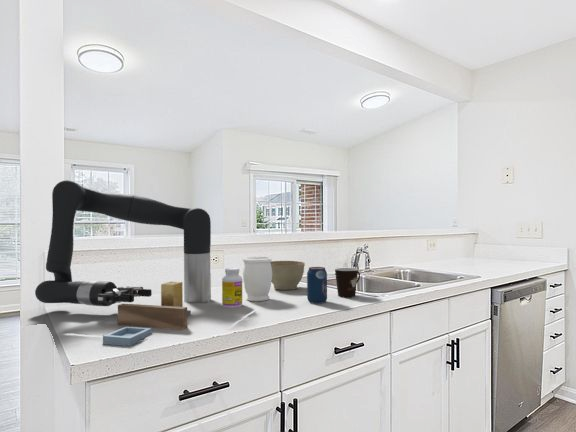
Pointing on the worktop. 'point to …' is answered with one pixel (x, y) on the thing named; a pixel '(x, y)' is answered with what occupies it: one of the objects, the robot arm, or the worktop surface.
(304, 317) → the worktop surface
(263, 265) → the jar
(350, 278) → the coffee mug
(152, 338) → the worktop surface
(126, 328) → the socket
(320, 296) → the soda can
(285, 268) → the planter bowl
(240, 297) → the supplement bottle
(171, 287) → the block
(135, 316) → the board
